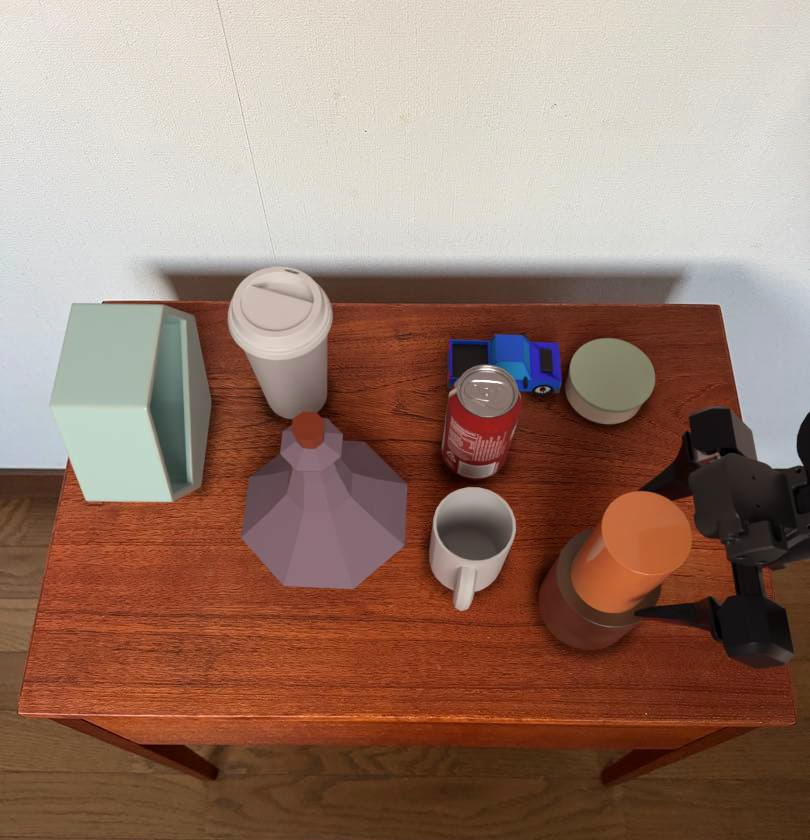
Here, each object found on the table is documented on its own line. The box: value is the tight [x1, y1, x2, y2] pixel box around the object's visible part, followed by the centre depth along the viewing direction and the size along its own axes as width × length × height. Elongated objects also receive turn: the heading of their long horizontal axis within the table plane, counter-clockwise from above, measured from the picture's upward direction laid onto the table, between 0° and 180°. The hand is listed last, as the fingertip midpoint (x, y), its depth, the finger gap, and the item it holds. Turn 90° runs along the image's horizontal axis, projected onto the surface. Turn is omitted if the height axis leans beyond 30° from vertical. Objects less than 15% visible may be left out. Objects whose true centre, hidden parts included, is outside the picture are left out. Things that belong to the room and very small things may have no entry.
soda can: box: [441, 365, 523, 481], centre depth 70 cm, size 7×7×12 cm
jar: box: [564, 337, 656, 425], centre depth 78 cm, size 9×9×3 cm
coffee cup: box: [227, 265, 334, 421], centre depth 72 cm, size 10×10×15 cm
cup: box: [428, 486, 517, 612], centre depth 67 cm, size 7×10×9 cm
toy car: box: [446, 331, 562, 397], centre depth 77 cm, size 7×12×5 cm, turn 89°
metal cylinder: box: [537, 528, 663, 651], centre depth 66 cm, size 9×9×8 cm
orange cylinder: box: [571, 490, 693, 613], centre depth 58 cm, size 7×7×10 cm
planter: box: [49, 302, 212, 503], centre depth 68 cm, size 17×8×21 cm
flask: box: [240, 412, 408, 590], centre depth 63 cm, size 16×16×20 cm
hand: (630, 558), depth 58 cm, fingers open, 9 cm apart
